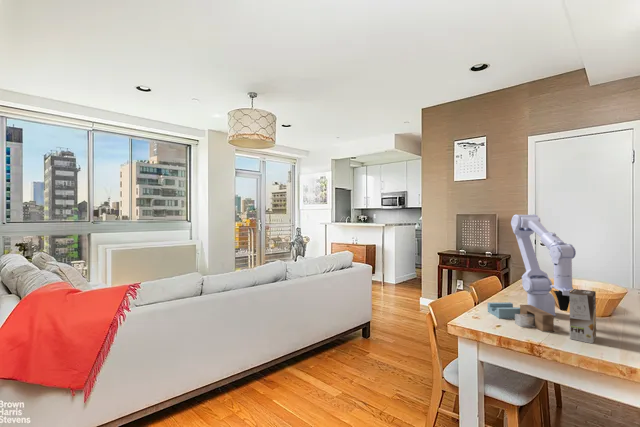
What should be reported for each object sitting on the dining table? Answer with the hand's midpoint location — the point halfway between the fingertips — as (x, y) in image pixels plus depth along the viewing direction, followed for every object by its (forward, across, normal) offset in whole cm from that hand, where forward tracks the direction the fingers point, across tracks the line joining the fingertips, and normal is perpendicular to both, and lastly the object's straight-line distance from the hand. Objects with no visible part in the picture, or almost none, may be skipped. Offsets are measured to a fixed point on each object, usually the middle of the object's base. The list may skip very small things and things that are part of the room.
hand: (563, 310), depth 126 cm
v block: (+6, -4, -20) cm, 21 cm away
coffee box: (+6, +12, +4) cm, 14 cm away
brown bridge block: (+6, +5, -9) cm, 12 cm away
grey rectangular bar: (+4, +5, -10) cm, 12 cm away
